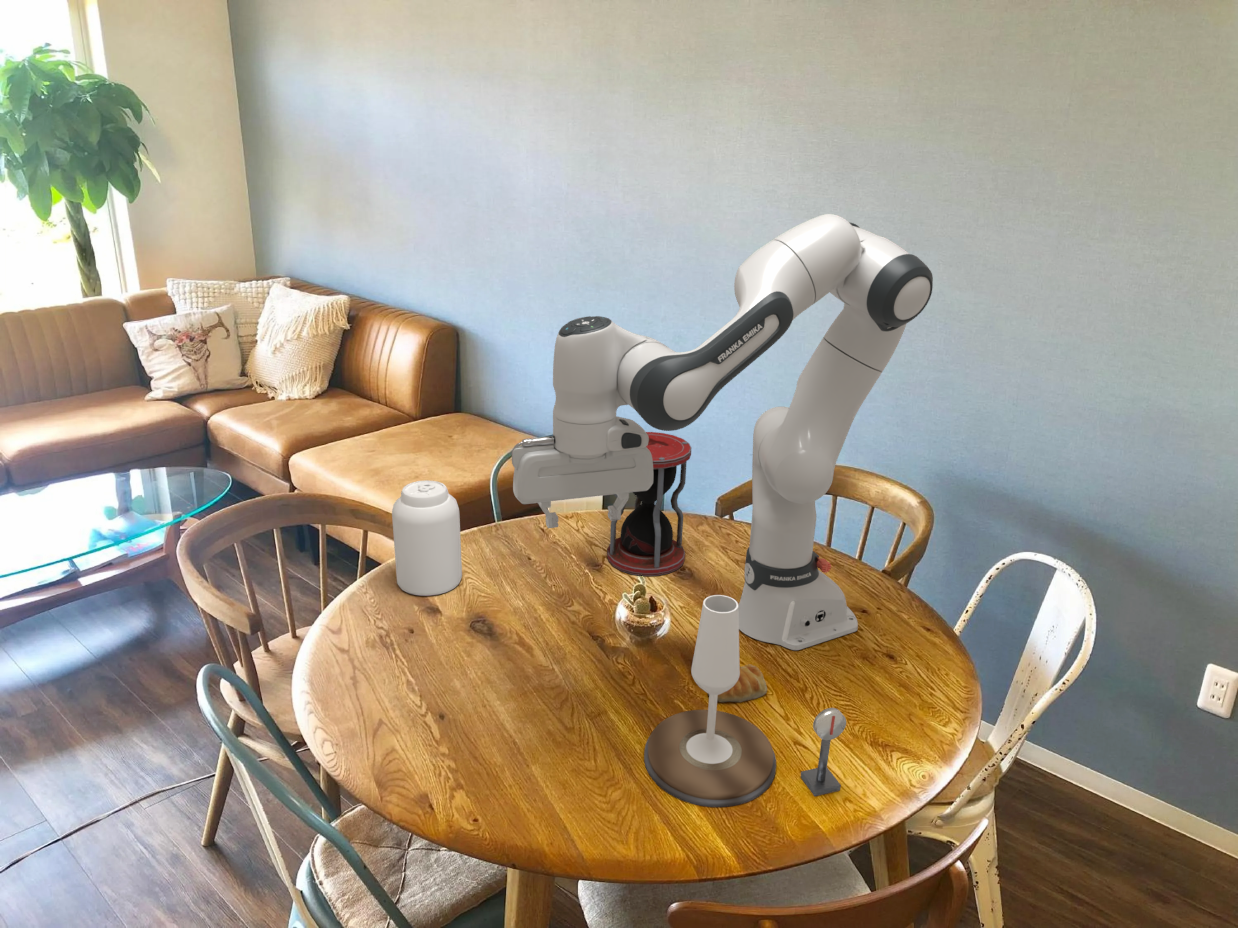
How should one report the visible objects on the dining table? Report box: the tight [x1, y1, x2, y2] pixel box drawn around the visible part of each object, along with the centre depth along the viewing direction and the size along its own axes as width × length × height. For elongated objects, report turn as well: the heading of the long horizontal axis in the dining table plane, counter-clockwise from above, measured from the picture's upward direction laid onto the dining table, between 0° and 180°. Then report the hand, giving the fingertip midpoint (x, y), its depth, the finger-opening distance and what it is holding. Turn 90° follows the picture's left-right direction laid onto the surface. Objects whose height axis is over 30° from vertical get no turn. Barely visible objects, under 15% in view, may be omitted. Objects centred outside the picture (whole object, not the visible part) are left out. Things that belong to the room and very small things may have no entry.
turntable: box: [643, 709, 777, 808], centre depth 133 cm, size 19×19×2 cm
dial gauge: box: [800, 707, 847, 797], centre depth 127 cm, size 4×4×13 cm
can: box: [391, 479, 463, 597], centre depth 175 cm, size 12×12×20 cm
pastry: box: [707, 663, 768, 703], centre depth 148 cm, size 9×7×4 cm
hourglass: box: [606, 431, 692, 577], centre depth 186 cm, size 16×16×25 cm
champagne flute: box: [686, 594, 741, 764], centre depth 128 cm, size 7×7×24 cm
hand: (583, 522), depth 134 cm, fingers open, 8 cm apart
